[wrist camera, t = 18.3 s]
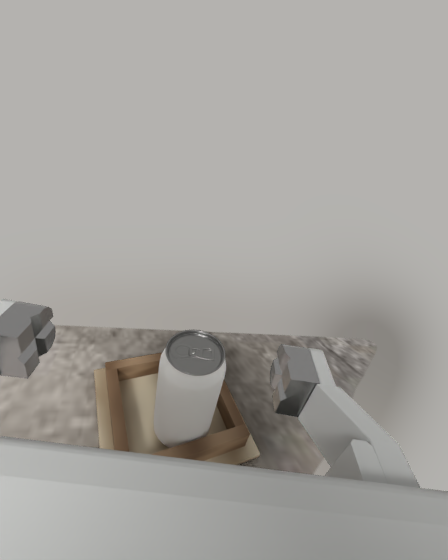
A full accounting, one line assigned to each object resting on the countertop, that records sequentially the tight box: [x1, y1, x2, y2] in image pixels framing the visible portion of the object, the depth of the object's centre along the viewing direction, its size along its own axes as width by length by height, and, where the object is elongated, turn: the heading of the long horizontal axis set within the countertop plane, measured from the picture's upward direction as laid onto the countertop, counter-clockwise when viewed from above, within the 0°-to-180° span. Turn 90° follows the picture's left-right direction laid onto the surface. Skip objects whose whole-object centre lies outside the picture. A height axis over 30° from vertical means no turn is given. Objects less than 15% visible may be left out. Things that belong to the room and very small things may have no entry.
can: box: [154, 330, 226, 448], centre depth 30 cm, size 6×6×12 cm
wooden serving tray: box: [94, 353, 260, 465], centre depth 34 cm, size 16×16×3 cm
